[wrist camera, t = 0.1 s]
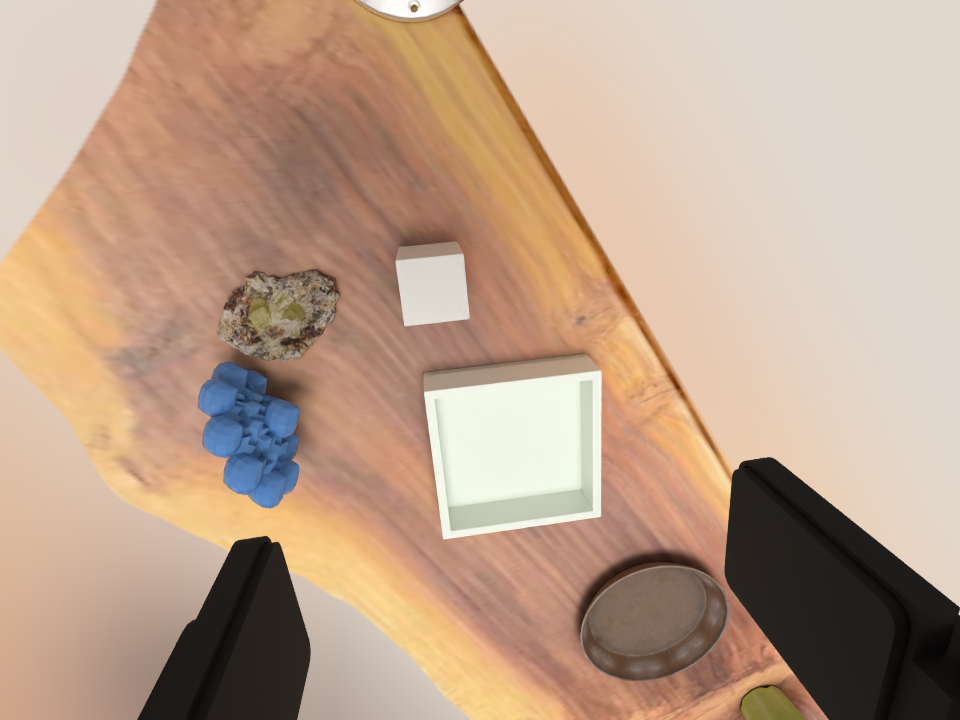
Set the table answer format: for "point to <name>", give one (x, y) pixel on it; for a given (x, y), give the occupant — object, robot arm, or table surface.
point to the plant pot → (769, 705)
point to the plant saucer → (653, 621)
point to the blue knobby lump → (250, 433)
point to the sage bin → (515, 443)
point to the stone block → (432, 283)
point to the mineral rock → (278, 314)
